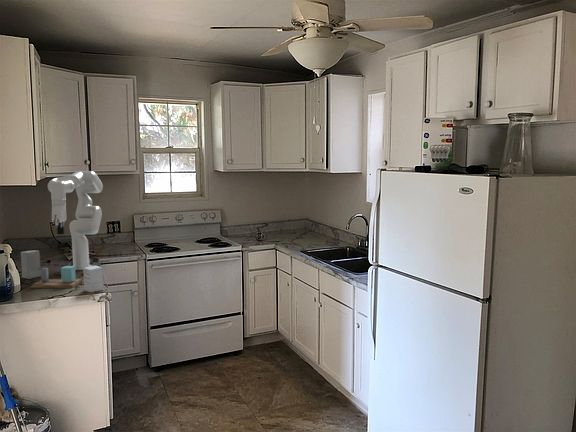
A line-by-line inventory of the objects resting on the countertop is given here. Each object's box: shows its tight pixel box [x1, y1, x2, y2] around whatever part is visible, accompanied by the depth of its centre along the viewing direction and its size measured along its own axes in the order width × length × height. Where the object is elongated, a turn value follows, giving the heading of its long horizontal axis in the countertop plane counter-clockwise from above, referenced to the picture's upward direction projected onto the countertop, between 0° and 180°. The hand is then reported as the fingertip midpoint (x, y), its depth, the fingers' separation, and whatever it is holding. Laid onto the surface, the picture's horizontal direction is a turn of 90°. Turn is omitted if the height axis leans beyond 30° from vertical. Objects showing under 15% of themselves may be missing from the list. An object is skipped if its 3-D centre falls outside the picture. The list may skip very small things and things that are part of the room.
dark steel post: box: [40, 267, 50, 283], centre depth 265 cm, size 3×3×8 cm
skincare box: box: [20, 249, 42, 280], centre depth 282 cm, size 8×7×16 cm
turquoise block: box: [60, 265, 77, 282], centre depth 266 cm, size 6×6×8 cm
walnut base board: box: [30, 278, 83, 289], centre depth 266 cm, size 14×22×2 cm, turn 93°
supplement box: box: [82, 265, 104, 294], centre depth 255 cm, size 7×7×13 cm
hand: (60, 233), depth 275 cm, fingers closed
